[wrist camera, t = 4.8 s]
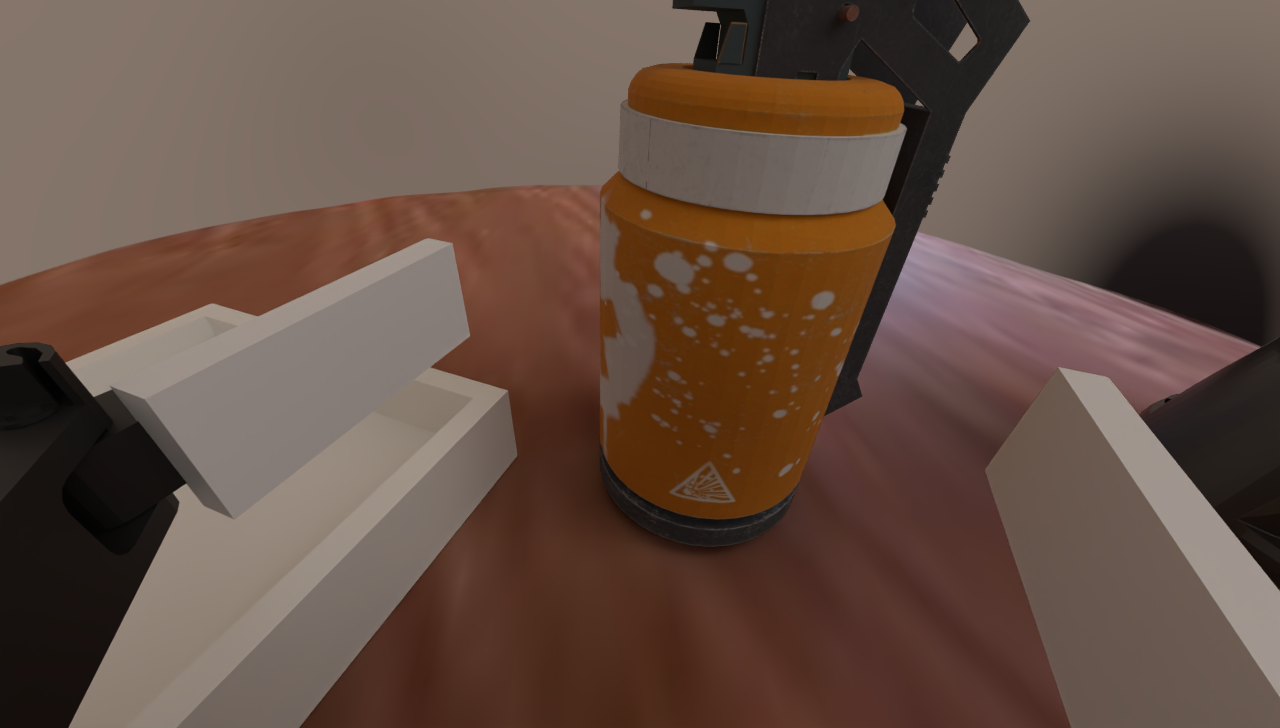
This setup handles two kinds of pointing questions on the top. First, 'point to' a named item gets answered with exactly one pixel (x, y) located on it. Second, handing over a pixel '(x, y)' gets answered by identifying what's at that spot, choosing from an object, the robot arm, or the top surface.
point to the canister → (767, 240)
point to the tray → (290, 552)
